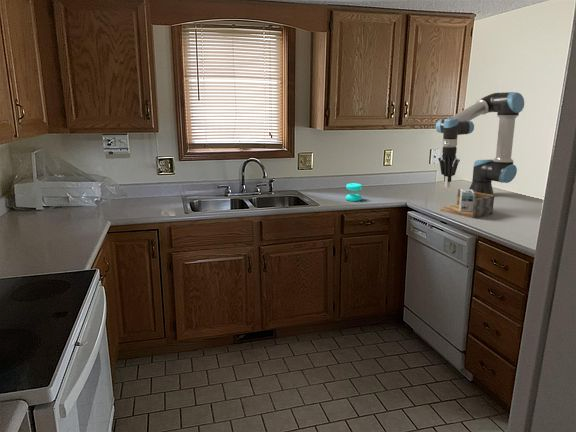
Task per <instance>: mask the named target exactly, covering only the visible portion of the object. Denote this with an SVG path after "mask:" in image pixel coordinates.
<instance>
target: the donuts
mask: <svg viewBox="0 0 576 432" xmlns="http://www.w3.org/2000/svg"><path fill="white" fill-rule="evenodd" d="M345 188H346V189H347V190H349V191H352V192H353V191H356V192H358V191H361V190H362V189H363V185H362V184H361V183H356V182H355V183H354V182H353V183H352V182H351V183H347V184H346V186H345ZM345 200H346V201H350V202H359V201H361V200H362V195H361V194H359V193H349V194H346V196H345Z"/></svg>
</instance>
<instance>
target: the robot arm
mask: <svg viewBox="0 0 576 432" xmlns="http://www.w3.org/2000/svg"><path fill="white" fill-rule="evenodd" d="M524 108H525V98H524V96H523V95H522V93H520V92H517V91H515V92H514V91H510V92H509V91H508V92H494V93H491V94H488V95H486V96H483V97H481V98H480V99H478V100H476V102H475V103H474V104H472V105H470V106H468V107H467V108H465V109H463V110H461V111H459V112H458V113H456V114H454V115H452V116H450V117H449V118H446V119H441V120H438V121H437V122H436V123H435V131H436V132H437V133H438V134H439V133H441V134H443V135H442V136H443V137H442V152H441V153H442V155H441V157H438V158H437V159H438V162H439V167H440V173H441V175H443V181H444V188H446V189H447V188H450V187H451V182H452V177H453V176H455V175H456V173H457V168H458V165H459V163H460V161H461V160H460V159H459V158H457V146H458V136H461V135H469V134H472V133H473V132H474V130H475V124H474V122H473V121H472V120H473V119H475V118H477V117H479V116H481V115H483V116H484V115H486V114H488V113H496V116H497V117H498V118H499V120H498V121H499V122H498V123H499V124H498V131H497V140H496V141H497V142H496V150H495V151H496V152H495V158H494V159H491V158H490V159H477V160H475V161H474V162H473V170H472V180H471V184H470V187H469V188H468V189H472V190H473V191H474V192H479V193H484V194H490V195H494V189H493V185H492V181H493V182H498V183H501V184H502V183H505V184H509V183H510V182H512V181H513V180H514V179H515V178H516V175H517V172H518V168H517V166H516V165H515V164H514V159H512V154H513V153H512V152H513V143H514V134H515V124H516V118H518V116H519V114H520V113H521V112H523V109H524Z"/></svg>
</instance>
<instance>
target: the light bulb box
mask: <svg viewBox="0 0 576 432" xmlns="http://www.w3.org/2000/svg"><path fill="white" fill-rule="evenodd" d="M459 189H460V202H459V209H460V211H464V212H473V207H474V196H475V193H474V191H473V190H472V189H469V188H468V189H466V188H459Z"/></svg>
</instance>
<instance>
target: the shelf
mask: <svg viewBox="0 0 576 432" xmlns="http://www.w3.org/2000/svg"><path fill="white" fill-rule="evenodd" d="M460 189H461V188H458V189H457V197H456V204H453V205H448V206H444V207H439V208H440V211H441V212H446V213H450V214H453V215H454V214H455V215H458V216H463V217H467V218H472V219H478V218H481V217H486V216H490V215H493V210H494V202H495V194H493V195H490V194H484V193H479V192H474V193H475V196H474V207H473V212H464V211H460V209H459V202H460Z"/></svg>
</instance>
